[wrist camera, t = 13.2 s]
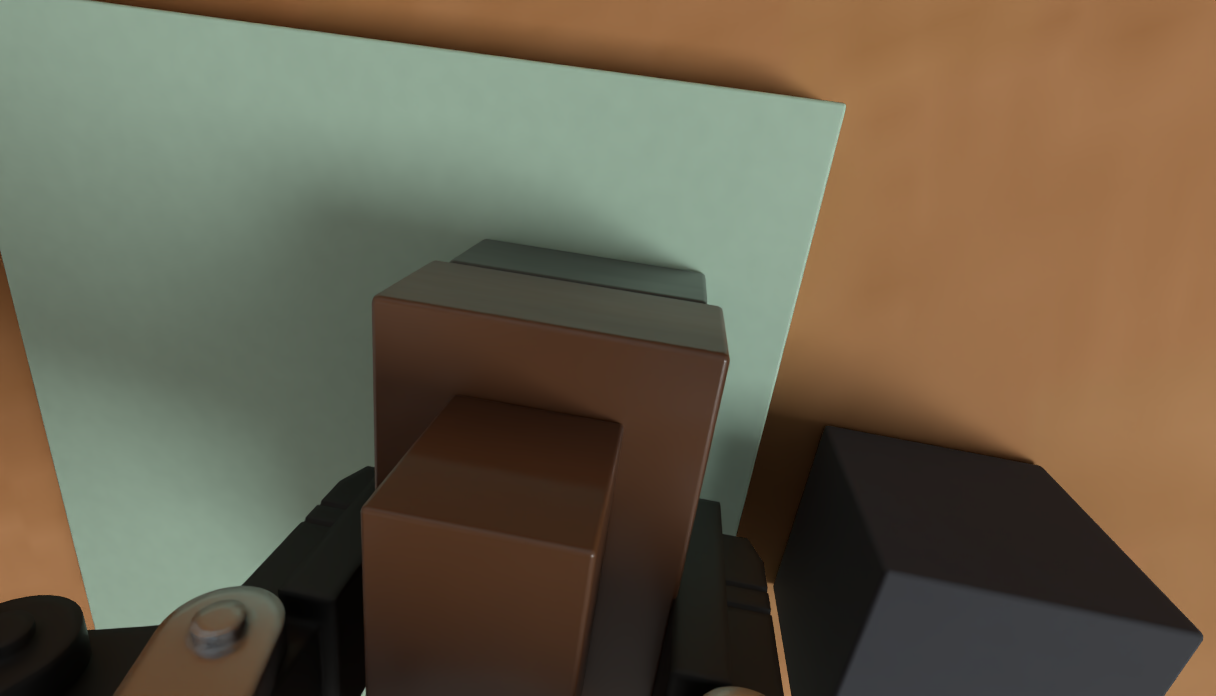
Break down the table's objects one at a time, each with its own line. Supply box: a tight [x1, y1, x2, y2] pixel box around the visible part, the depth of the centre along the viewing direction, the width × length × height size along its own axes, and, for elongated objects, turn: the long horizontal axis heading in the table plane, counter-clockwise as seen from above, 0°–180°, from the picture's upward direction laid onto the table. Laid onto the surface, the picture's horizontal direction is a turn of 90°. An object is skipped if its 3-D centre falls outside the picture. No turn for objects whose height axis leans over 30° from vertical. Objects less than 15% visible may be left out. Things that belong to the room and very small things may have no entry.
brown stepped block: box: [361, 239, 730, 696], centre depth 9 cm, size 9×4×6 cm, turn 173°
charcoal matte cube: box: [773, 426, 1203, 696], centre depth 10 cm, size 4×4×4 cm
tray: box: [0, 0, 846, 696], centre depth 12 cm, size 14×14×1 cm
